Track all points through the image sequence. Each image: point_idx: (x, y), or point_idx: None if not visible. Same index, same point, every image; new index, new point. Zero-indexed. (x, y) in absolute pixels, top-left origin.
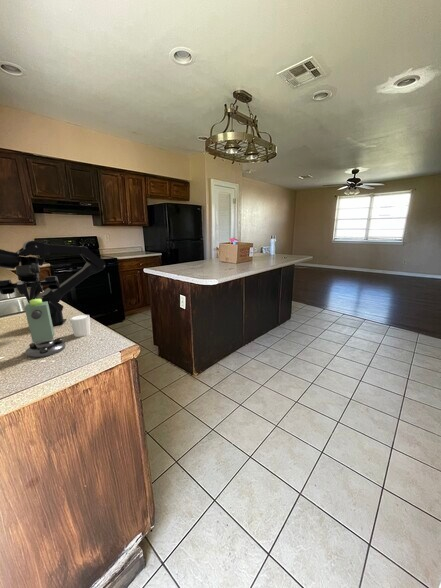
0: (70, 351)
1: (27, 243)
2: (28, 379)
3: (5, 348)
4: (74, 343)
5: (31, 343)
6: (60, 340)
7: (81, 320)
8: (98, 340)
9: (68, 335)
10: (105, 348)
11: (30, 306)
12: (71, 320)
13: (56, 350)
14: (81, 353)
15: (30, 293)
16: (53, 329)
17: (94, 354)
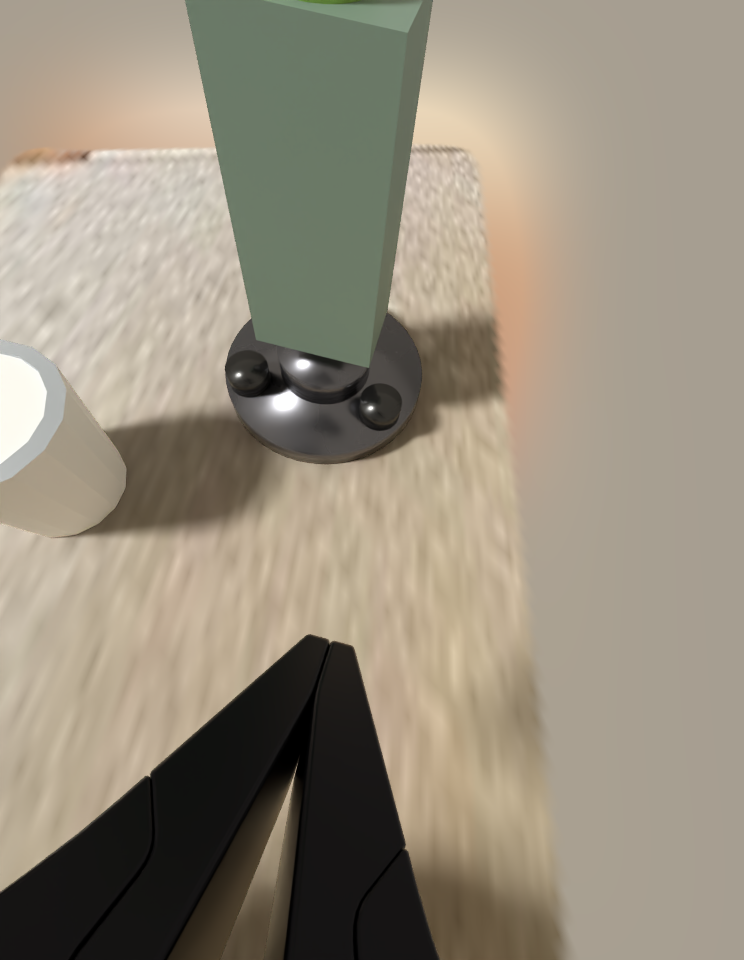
0: (238, 288)
1: None
2: (419, 189)
3: (525, 586)
4: (183, 365)
5: (388, 412)
6: (242, 353)
7: (8, 345)
8: (70, 313)
9: (150, 527)
10: (108, 215)
11: None
12: (65, 388)
13: None
14: (210, 239)
15: (220, 825)
16: (250, 312)
17: (174, 199)
